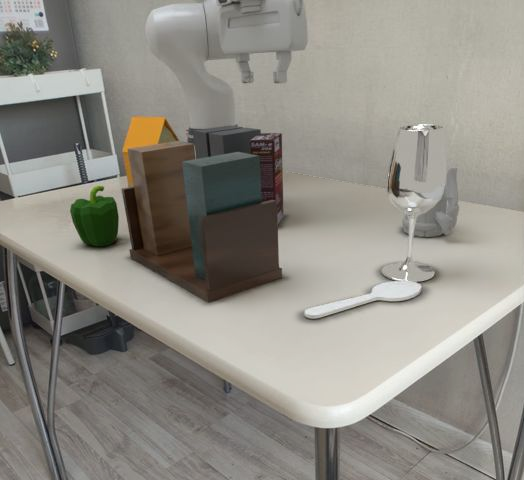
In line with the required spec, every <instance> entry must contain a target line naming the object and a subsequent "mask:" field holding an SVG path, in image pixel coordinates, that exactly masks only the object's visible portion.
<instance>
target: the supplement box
mask: <svg viewBox="0 0 524 480" xmlns="http://www.w3.org/2000/svg"><path fill="white" fill-rule="evenodd" d="M250 154H252V155H258V156H259V162H260V181H261V201H262V202H265V201H269V200H275V201H277V223H278V225H279V224H280V222H281V220H282V219H283V217H284V216H285V215H284V208H285V207H284V178H283V177H284V172H283V171H284V170H283V133H281V132H264V133H263V132H261V134H259V135H258V136H256V137H255V138H253V139H251V140H250Z"/></svg>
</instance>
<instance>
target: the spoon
mask: <svg viewBox="0 0 524 480" xmlns="http://www.w3.org/2000/svg"><path fill="white" fill-rule="evenodd" d="M421 292H422V285H421V283H420V282H412V281H405V280H404V281H395V280H392V281H385V282H382V283H379V284H376V285H374V286H373V287H372V289H371V292H370V293H366V294H363V295H357V296H355V297H350V298H349V297H348V298H346V299H342V300H338V301H332V302H330V303H329V302H328V303H326V304H324V303H323V304H321V305H316V306H315V305H314V306H312V307H309V308H306V309H304V310H303V312H304V313H303V314H304V317H306V318H308V319H312V320H313V319H314V320H315V319H320V318H323V317H326V316H330V315H333V314H337V313H340V312H343V311H346V310H349V309H352V308H355V307H358V306H362V305H365V304H368V303H372V302H375V301H383V302H400V301H407V300H411V299H413V298H415V297H417V296H418V295H420V293H421Z"/></svg>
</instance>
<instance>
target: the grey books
mask: <svg viewBox="0 0 524 480" xmlns="http://www.w3.org/2000/svg"><path fill="white" fill-rule="evenodd" d="M261 131H262V129H260V128H252V127H244V126H239V125H238V126H230V125H229V126H222V127H216V128H209V129H202V130H195V131H193V135H194V144H195V154H196V159H200V158H206V157H211V156H217V155H223V154H228V153H234V152H242V153H247V154H250V140H251V139H253V138H255V137H256V136H258V135H259V134H261V133H262V132H261Z"/></svg>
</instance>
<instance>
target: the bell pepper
mask: <svg viewBox="0 0 524 480" xmlns="http://www.w3.org/2000/svg"><path fill="white" fill-rule="evenodd" d="M104 190H105V186H104V185H97V186H94V187H92V189H91V190H90V194H89V196H90V197H89V199H87V198H77V199H76V200H75V201H74V202H73V203H71V205H70V209H69V212H70V216H71V220H72V223H73V225H74V228H75V230H76V233H77V234H78V237H79V238H80V240H81V242H82V243H83V244H84V245H85V246H94V247H106V246H110V245H112V244H113V243H114V242H115V241H116V239H117V238H118V235H119V223H120V222H119V221H120V218H119V217H120V216H119V210H118V204H117V202H116V200H115V198H114V197H113V196H103V195H97V193H98V192H104Z"/></svg>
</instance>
